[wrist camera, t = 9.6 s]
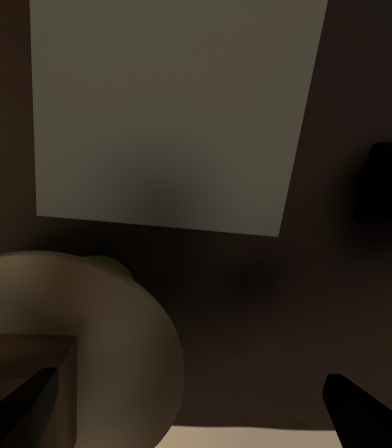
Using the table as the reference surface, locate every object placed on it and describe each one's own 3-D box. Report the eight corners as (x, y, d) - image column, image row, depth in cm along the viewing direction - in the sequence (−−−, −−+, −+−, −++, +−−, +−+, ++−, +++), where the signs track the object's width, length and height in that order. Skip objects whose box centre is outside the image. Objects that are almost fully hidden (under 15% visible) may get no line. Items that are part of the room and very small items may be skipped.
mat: (325, -25, 17) (335, -36, 16) (273, 233, 21) (278, 236, 20) (35, -97, 14) (25, -115, 13) (43, 212, 18) (36, 215, 17)
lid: (198, 261, 11) (208, 295, 9) (171, 467, 14) (171, 544, 12) (-132, 238, 10) (-260, 272, 7) (-82, 479, 13) (-156, 572, 10)
